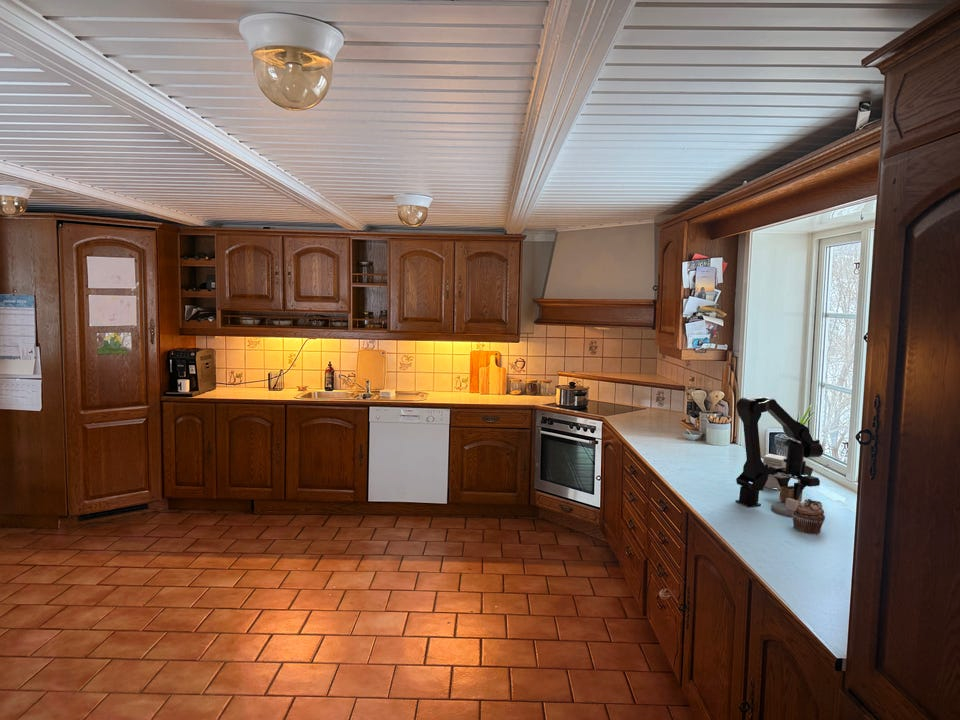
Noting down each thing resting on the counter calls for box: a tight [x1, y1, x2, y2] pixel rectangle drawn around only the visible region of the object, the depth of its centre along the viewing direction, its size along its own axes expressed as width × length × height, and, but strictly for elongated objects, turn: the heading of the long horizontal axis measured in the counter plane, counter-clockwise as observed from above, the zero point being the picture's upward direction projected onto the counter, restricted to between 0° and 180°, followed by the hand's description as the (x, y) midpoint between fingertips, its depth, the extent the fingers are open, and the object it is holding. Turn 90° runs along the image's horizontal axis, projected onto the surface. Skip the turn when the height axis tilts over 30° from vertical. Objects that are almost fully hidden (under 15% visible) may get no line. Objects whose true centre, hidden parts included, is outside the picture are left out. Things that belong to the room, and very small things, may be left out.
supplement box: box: [762, 453, 787, 489], centre depth 268 cm, size 7×7×13 cm
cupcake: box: [792, 498, 826, 535], centre depth 216 cm, size 10×10×10 cm
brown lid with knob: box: [771, 498, 800, 518], centre depth 235 cm, size 13×13×4 cm
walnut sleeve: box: [778, 485, 803, 503], centre depth 248 cm, size 7×4×5 cm, turn 117°
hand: (790, 498), depth 248 cm, fingers closed on walnut sleeve, 4 cm apart
